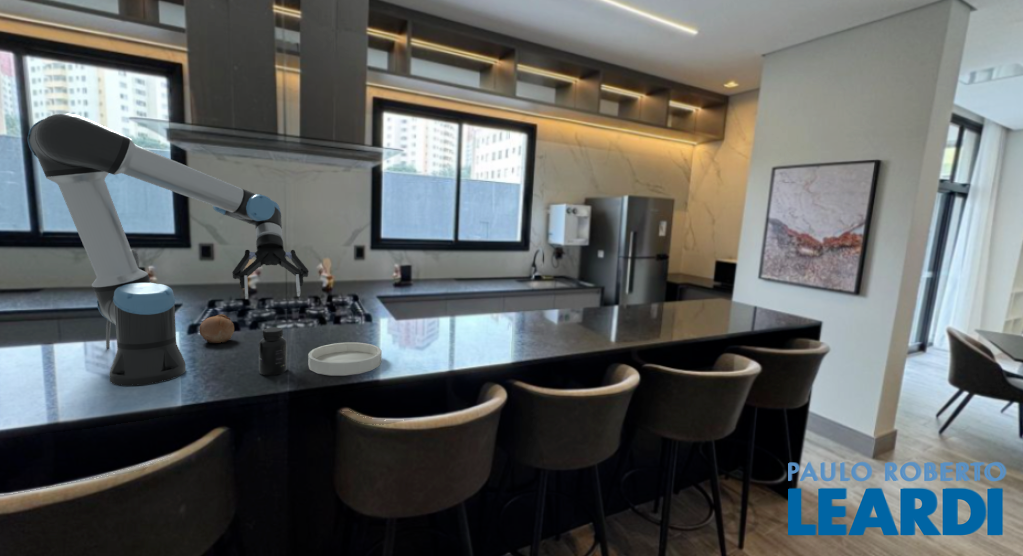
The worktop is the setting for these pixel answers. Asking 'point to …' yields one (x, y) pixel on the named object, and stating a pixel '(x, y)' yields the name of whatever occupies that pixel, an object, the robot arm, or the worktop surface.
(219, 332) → the onion
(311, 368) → the round tray
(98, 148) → the robot arm
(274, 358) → the supplement bottle
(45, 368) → the worktop surface
